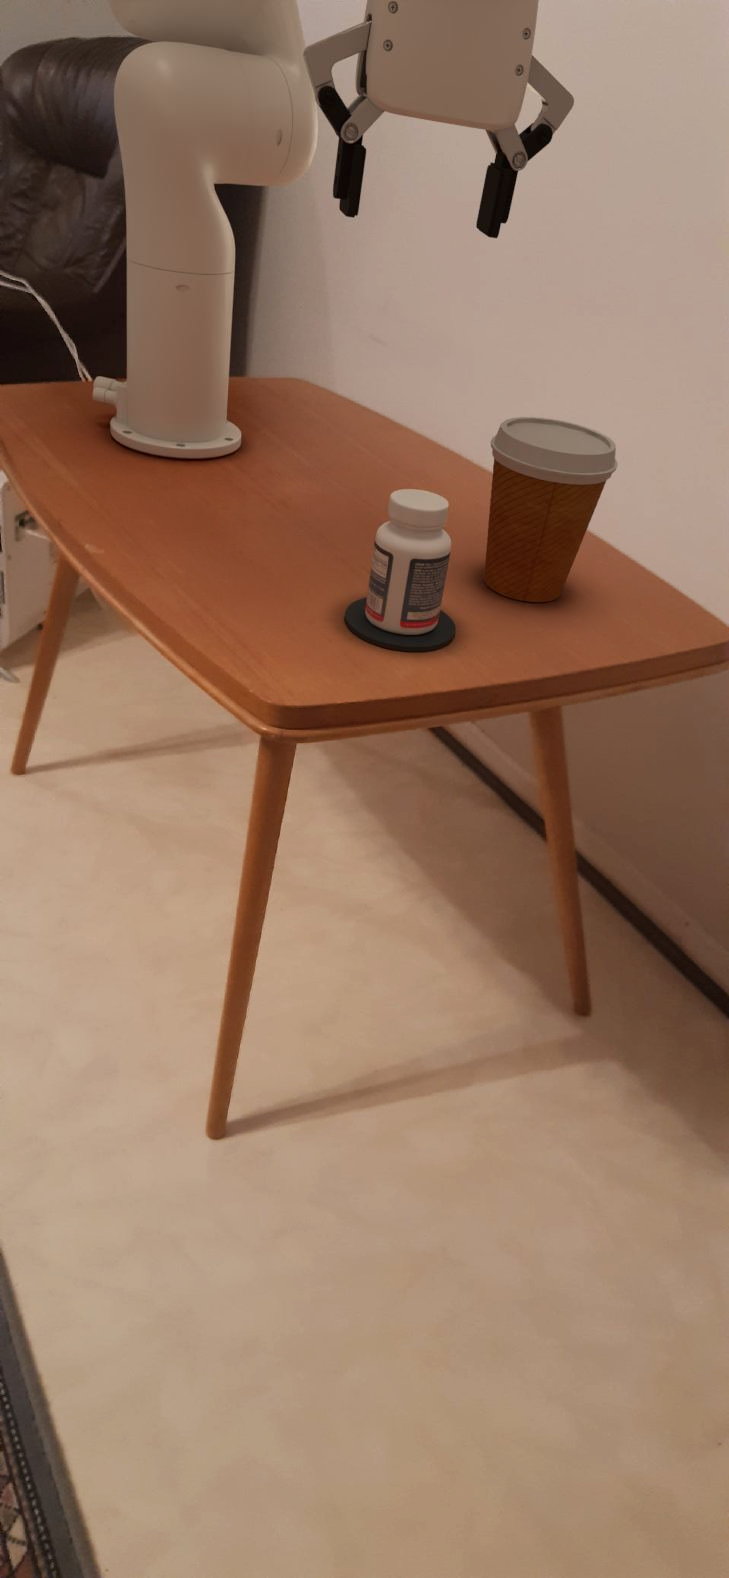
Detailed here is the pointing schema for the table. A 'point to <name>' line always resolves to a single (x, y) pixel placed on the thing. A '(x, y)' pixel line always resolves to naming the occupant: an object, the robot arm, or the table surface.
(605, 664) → the table surface
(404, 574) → the pill bottle
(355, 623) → the corner coaster
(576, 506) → the disposable coffee cup
